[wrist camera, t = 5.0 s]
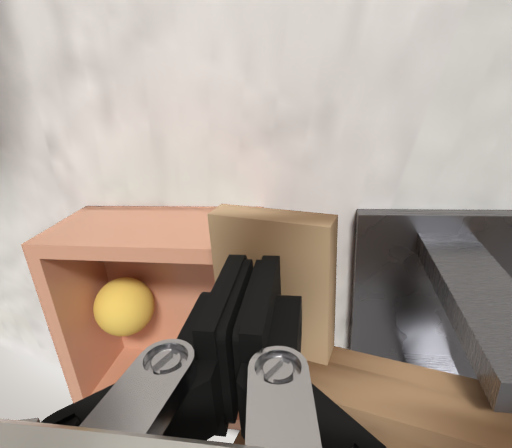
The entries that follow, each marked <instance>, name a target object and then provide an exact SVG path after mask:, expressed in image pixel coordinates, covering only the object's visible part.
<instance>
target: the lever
mask: <svg viewBox="0 0 512 448" xmlns="http://www.w3.org/2000/svg"><path fill="white" fill-rule="evenodd" d="M207 217H208V225H209V234H210V243H211V252H212V260H213V269H214V278H215V282H216V280H217V278H218V276H219V274H220V272H221V270H222V268H223V266H224V264H225V262H226V260H227V258H228V256H229V254H230V255H246V256H247V259H252V261H253V268H254V265H255V262H256V260H261V259H262V256H263V255H268V256H280V275H281V295H290V296H302V340H301V354H302V355H303V356H304V357H305V358H306V360H307V363H308V366H309V372H310V378H311V383H312V384H314V385H315V386H316V387H317V388H318V389H319V390H321V391H322V392H323V393H324V394H325V395H326V396H328V397H329V398H330V399H331V400H332V401H333V402H335V403H336V404H337V405H338V406H339V407H340V408H342V409H343V410H344V411H345V412H346V413H347V414H349V415H350V416H351V417H352V418H353V419H354V420H356V421H357V422H358V423H359V424H360V425H361V426H363V427H364V428H365V429H366V430H367V431H368V432H370V433H371V434H372V435H373V436H374V437H375V438H377V439H378V440H379V441H380V442H381V443H382V444H384V445H385V446H386V447H387V448H512V413H503V412H494V411H493V409H492V407H491V405H490V403H489V401H488V399H487V397H486V395H485V393H484V391H483V389H482V387H481V385H480V383H479V380H478V379H473V378H469V377H465V376H460V375H456V374H452V373H447V372H443V371H439V370H435V369H430V368H426V367H422V366H417V365H413V364H409V363H404V362H400V361H396V360H391V359H387V358H383V357H379V356H374V355H370V354H366V353H361V352H357V351H353V350H348V349H344V348H340V347H335V346H334V329H335V295H336V261H337V227H338V215H333V214H323V213H312V212H302V211H291V210H281V209H270V208H260V207H249V206H239V205H228V204H221V205H220V206H218V207H217V208H215V209H214V210H212V211H211V212H209V213H208V214H207ZM233 444H240V445H245V440H244V439H243V437H242V436H241V430H240V431H239V433H238V435H237V437H236V439H235V441H234V443H233Z"/></svg>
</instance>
